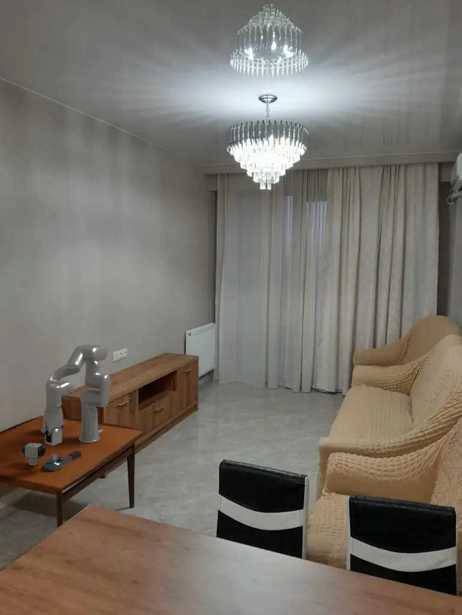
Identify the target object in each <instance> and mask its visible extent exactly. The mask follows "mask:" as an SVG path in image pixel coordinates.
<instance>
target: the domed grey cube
mask: <svg viewBox="0 0 462 615" xmlns="http://www.w3.org/2000/svg"><path fill="white" fill-rule="evenodd" d="M45 431H46V429H45ZM50 435H51V442H50V443H48V442H46V435H45V434H44V444H46V445H49V446H52V447H53V446H55V445H58V444H60V443H63V428H62V429H60V428H59V427H58V428H55V429H53V430H51V433H50Z"/></svg>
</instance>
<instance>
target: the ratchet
mask: <svg viewBox="0 0 462 615" xmlns="http://www.w3.org/2000/svg"><path fill="white" fill-rule="evenodd" d="M81 457H82V451H80V450H76V451H72V452H71V453H68V455H66V456H64V457H63V456H59V457H58V454H55V453H53V454H50V456H49V459H47V460H46V461H45V462H44V470H45V471H46V472H52V473H53V472H56V471H60V470H61V469H63V466H64V465H65V464H66V465H67V464H68V463H70V462H72V461H74V460H77V459H78V458H81Z"/></svg>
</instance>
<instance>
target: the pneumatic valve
mask: <svg viewBox="0 0 462 615" xmlns="http://www.w3.org/2000/svg"><path fill="white" fill-rule="evenodd" d="M21 452H22V454H23V457H24V458H28V465H29V466H36V465H39V464H40V459H41V458H42V457H44V456H45V455H46V453H47V450H46V447H45V445H44V444H43V443H39V442H38V443H37V442H36V443H35V442H28V443H26V444H25V445H23V447H22V448H21Z"/></svg>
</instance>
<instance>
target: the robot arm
mask: <svg viewBox="0 0 462 615" xmlns="http://www.w3.org/2000/svg"><path fill="white" fill-rule="evenodd" d="M108 355H109V350H108V348H107V346H105V345H99V344H97V345H96V344H82V345H79V346H77V347H76V348H75V349H74V350H73V352H72V354H71V355H70V357H69V359H68V361H67V362H66V363H65V364H64V365H61V366H60V367H58V368H57V369H56V370H54V372H52V373H51V375H50V376H49V378H48V380H47V382H46V384H45V392H46V393H45V409H46V411H44V414H43V417H42V418H43V420H42V428H41V430H40V432H41V433H43V434H44V436H45V435H46V442H48V443H50V442H51V435H50V433H51V430H53V429H55V428H58V427H59V428H60V429H62V430H63V428H64V426H65V425H66V421H65V420H64V414H63V413H64V412H63V408H62V406H63V403H62V397H65V396H68V395H70V394H72V393H73V391H74V385H73V383H72V382H71V381H69V380H61V379H63V378H65V377H69V376H72V375H76V374H78V373H80V372H81V370H82V368H83V367H84V364H85V374H84V386H85V387H87V388H90V389H85V390H83V391H82V392H81V393H80V395H79V396H80V397H79V401H80V404H81V435H80V436H79V437H78V441H79V443H83V444H93V443H97V442H98V441H100V439H101V436H100V434H101V433H103V431H104V430H103V429H98V426H99V424H98V423H99V421H98V420H99V419H98V416H99V415H98V414H99V410H98V408H97V407H99V408H104V407H107V406H108V405H109V401H110V394H111V387H112V386H111V383H112V380H111V379H112V378H111V376H110V374H108V373H104V372H103V373H102V372H100V371H101V363H100V362H101V361H105V360H106V359H107V358H108ZM95 389H99V390H95ZM45 430H46V431H45Z"/></svg>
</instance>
